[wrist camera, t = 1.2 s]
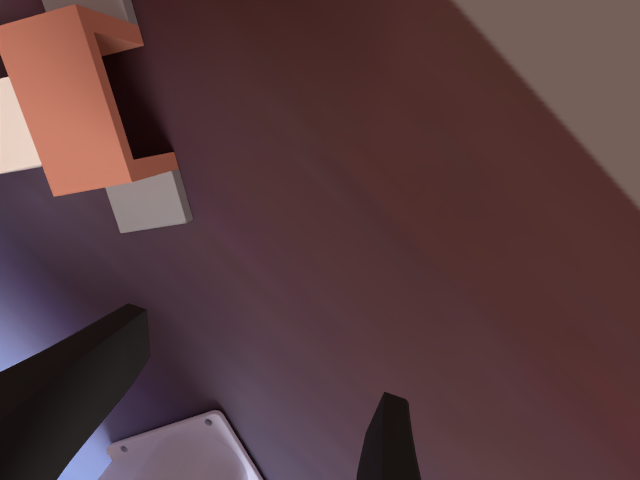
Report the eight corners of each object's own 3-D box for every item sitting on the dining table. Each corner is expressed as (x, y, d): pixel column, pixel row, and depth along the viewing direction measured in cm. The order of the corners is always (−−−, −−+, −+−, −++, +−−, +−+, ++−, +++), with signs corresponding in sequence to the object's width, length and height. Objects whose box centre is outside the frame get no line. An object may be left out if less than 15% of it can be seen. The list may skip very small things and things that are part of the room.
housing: (129, 229, 23) (75, 254, 19) (47, -18, 20) (-39, -51, 16) (193, 219, 22) (151, 243, 18) (120, -40, 19) (48, -81, 15)
